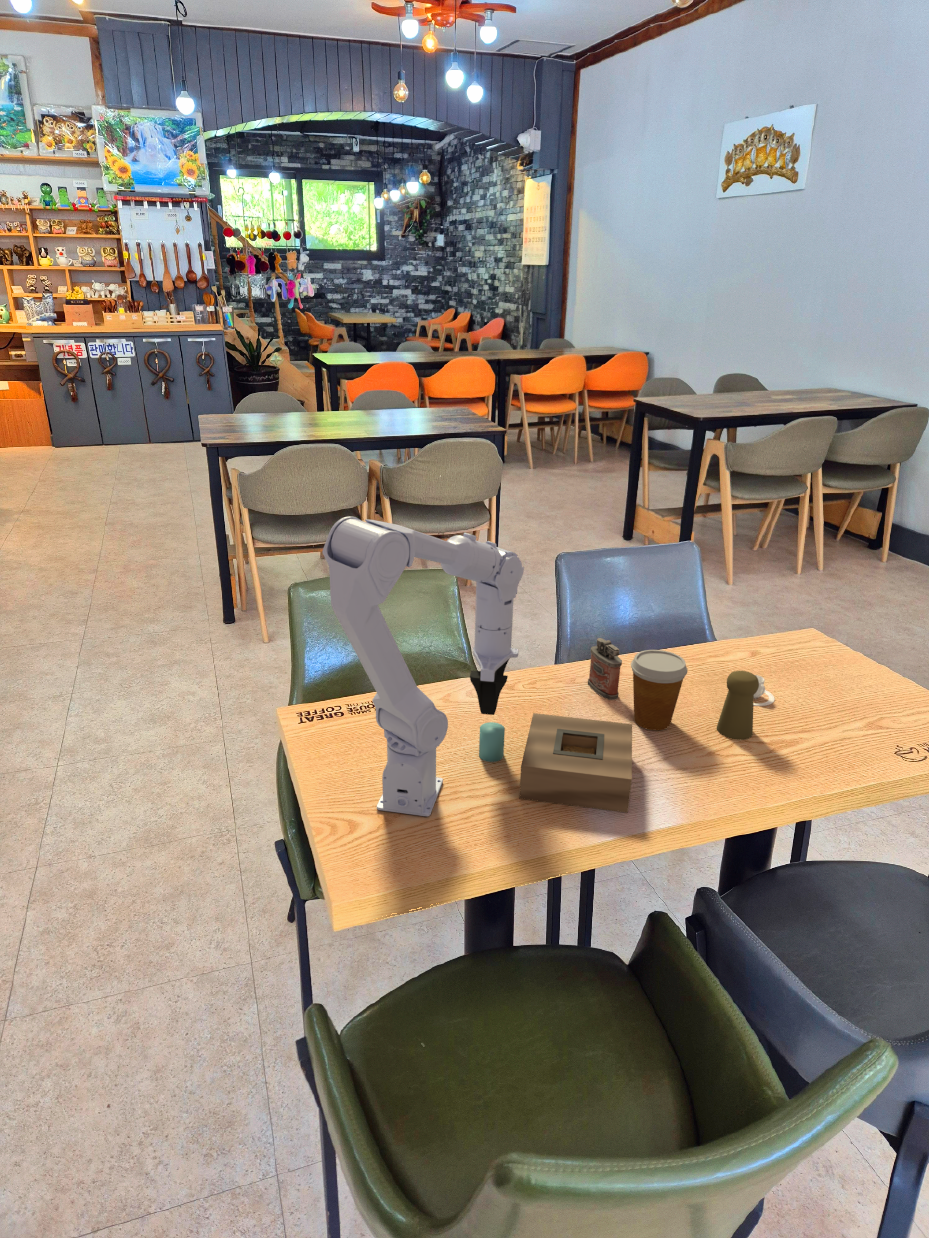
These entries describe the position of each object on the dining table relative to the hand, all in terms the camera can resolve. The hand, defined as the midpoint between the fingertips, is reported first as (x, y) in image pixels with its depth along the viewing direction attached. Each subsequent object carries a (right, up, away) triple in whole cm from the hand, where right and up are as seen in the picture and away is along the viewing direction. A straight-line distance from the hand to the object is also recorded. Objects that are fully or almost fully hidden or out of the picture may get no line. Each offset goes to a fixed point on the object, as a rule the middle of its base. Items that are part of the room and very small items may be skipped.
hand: (490, 701), depth 131 cm
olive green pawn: (+43, -6, +12) cm, 45 cm away
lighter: (+22, -1, +25) cm, 33 cm away
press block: (+13, -11, -2) cm, 18 cm away
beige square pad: (+13, -9, -3) cm, 16 cm away
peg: (0, -9, +3) cm, 9 cm away
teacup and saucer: (+52, -1, +26) cm, 58 cm away
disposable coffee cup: (+29, -5, +14) cm, 33 cm away
